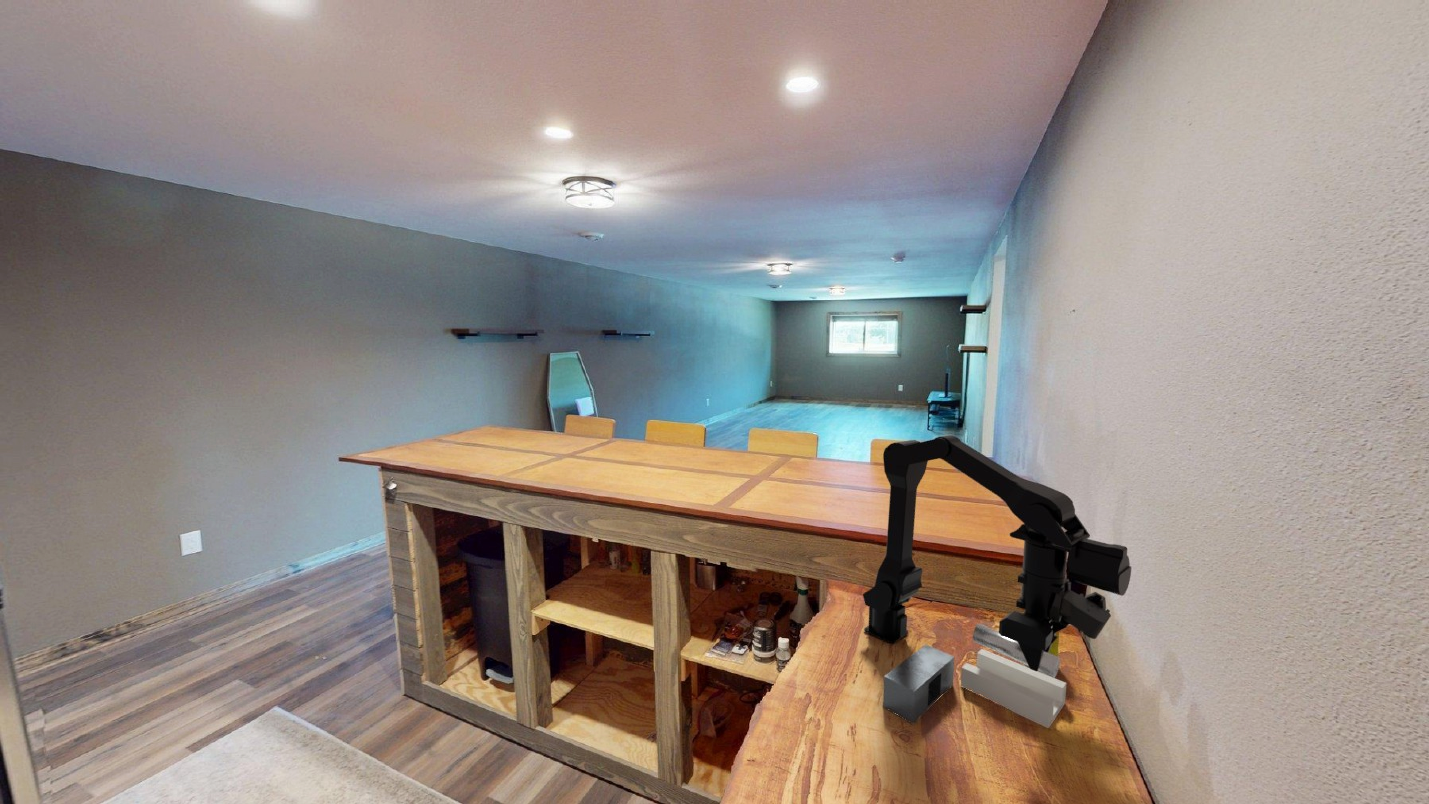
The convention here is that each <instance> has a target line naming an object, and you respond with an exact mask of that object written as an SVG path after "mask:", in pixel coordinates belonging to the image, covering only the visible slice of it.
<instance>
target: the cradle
mask: <svg viewBox="0 0 1429 804" xmlns="http://www.w3.org/2000/svg"><path fill="white" fill-rule="evenodd" d="M976 654H977V655H976V666H975V665H973V664H970V663H969V662H966V663H964V665H963V666H962V667H961V674H960V687H961V686H963V687H965V688H967V689H969V690H972V691H973V692H975V693H977V694H981V695H983V696H984V697H986V698H989V699H990V700H992V701H994V702H997V703H998V704H1000V705H1002V706H1004V707H1006V708H1008V709H1010V710H1011V711H1010V710H1009V711H1010V712H1013V713H1015V714H1017V715H1019V716H1021V717H1023V718H1026V719H1027V720H1029V721H1032V722H1034V723H1036V724H1038V725H1040V726H1043V727H1045V728H1047V729H1050V728H1051V725H1052V724H1053V722H1054V721H1055V720H1056V718H1057V717H1058V715H1059V714H1060V712H1061V710H1062V709H1063V707H1064V706H1065V705H1066V694H1067V682H1065V681H1062V680H1060V679H1057V678H1056V677H1055V678H1053V677H1051V676H1048V675H1046V674H1044V673H1042V672H1040V671H1034V670H1031V669H1030V668H1029V666H1027V665H1024V664H1022V663H1019V662H1017V661H1014V660H1010V659H1008V658H1006V657H1003V656H1001V655H998V654H996V653H993V652H991V651H988V650H986V649H984V648H981V649H980V650H979V651H978V652H977V653H976ZM977 694H976V695H977ZM998 704H997V705H998ZM1000 705H999V706H1000ZM1002 706H1001V707H1002ZM1004 707H1003V708H1004ZM1006 708H1005V709H1006ZM1008 709H1007V710H1008Z"/></svg>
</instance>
